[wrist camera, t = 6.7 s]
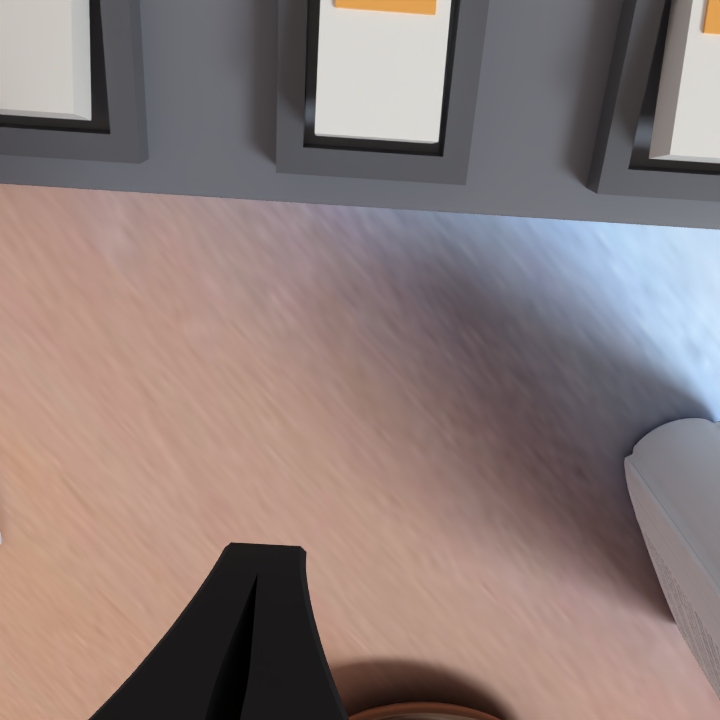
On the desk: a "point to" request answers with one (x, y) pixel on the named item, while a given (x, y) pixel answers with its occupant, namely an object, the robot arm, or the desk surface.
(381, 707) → the cup and saucer
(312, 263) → the desk surface
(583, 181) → the rocker switch panel
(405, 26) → the middle rocker
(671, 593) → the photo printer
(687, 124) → the rocker
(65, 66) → the rocker
